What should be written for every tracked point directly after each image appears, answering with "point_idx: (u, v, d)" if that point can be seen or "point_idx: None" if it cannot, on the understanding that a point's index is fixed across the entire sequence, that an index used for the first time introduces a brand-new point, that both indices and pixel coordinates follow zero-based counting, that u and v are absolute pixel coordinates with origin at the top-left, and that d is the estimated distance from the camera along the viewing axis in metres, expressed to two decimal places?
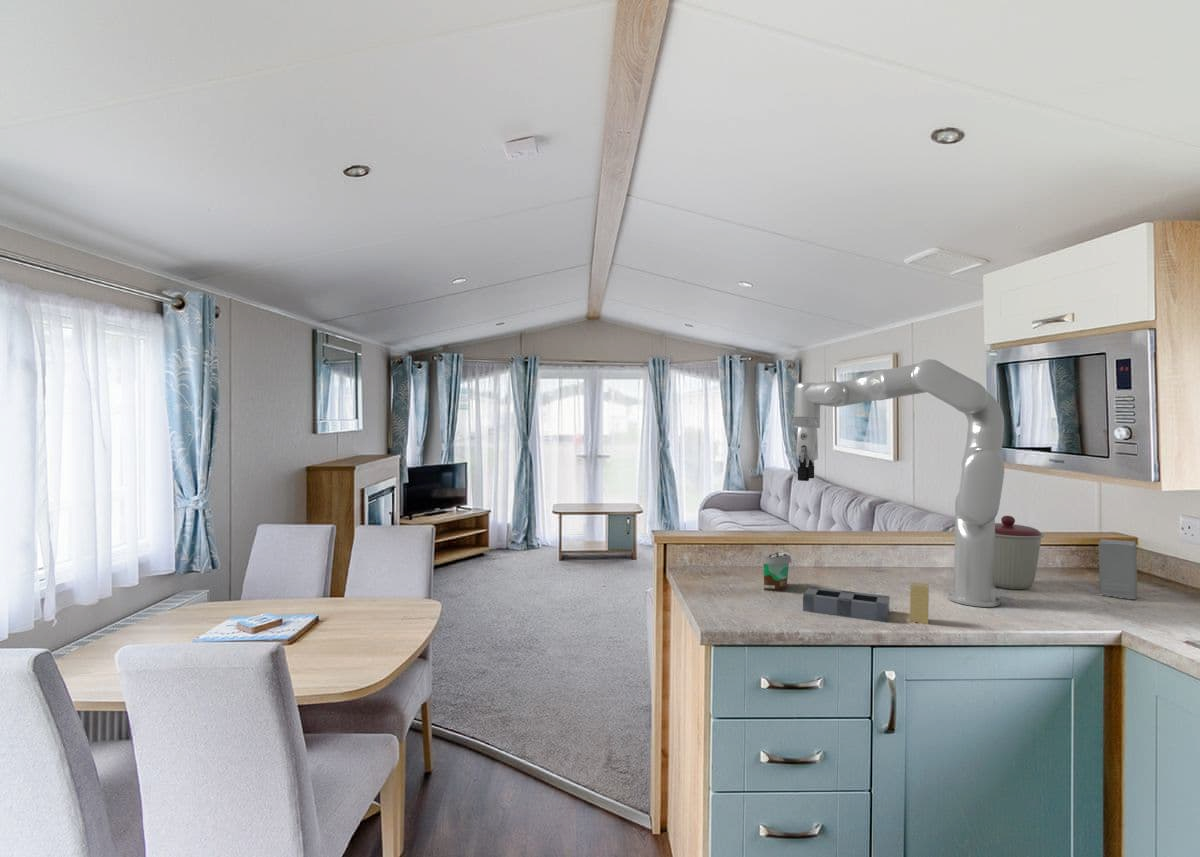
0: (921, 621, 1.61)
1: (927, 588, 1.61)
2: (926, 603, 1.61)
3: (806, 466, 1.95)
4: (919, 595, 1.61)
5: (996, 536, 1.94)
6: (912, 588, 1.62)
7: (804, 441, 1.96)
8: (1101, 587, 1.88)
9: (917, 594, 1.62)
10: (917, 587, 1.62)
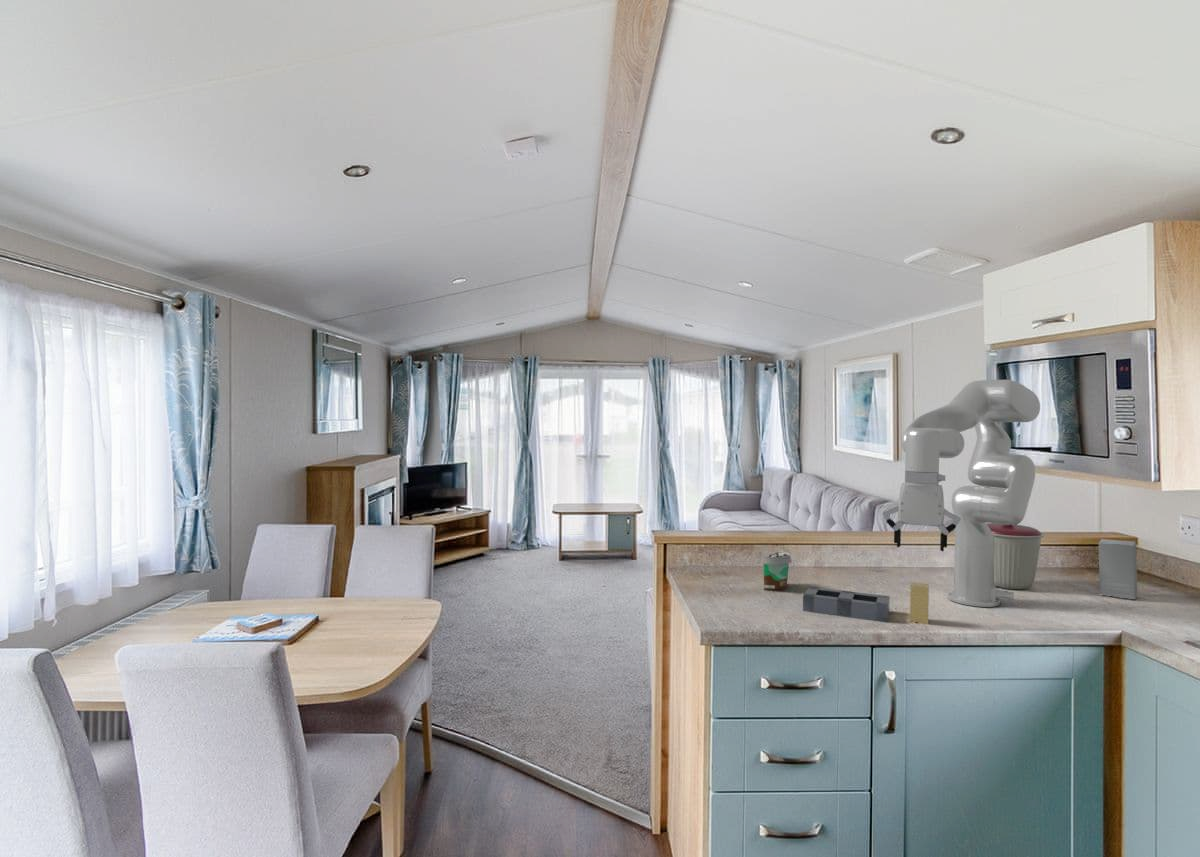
0: (921, 621, 1.61)
1: (927, 588, 1.61)
2: (926, 603, 1.61)
3: None
4: (919, 595, 1.61)
5: (996, 536, 1.94)
6: (912, 588, 1.62)
7: (943, 502, 1.61)
8: (1101, 587, 1.88)
9: (917, 594, 1.62)
10: (917, 587, 1.62)
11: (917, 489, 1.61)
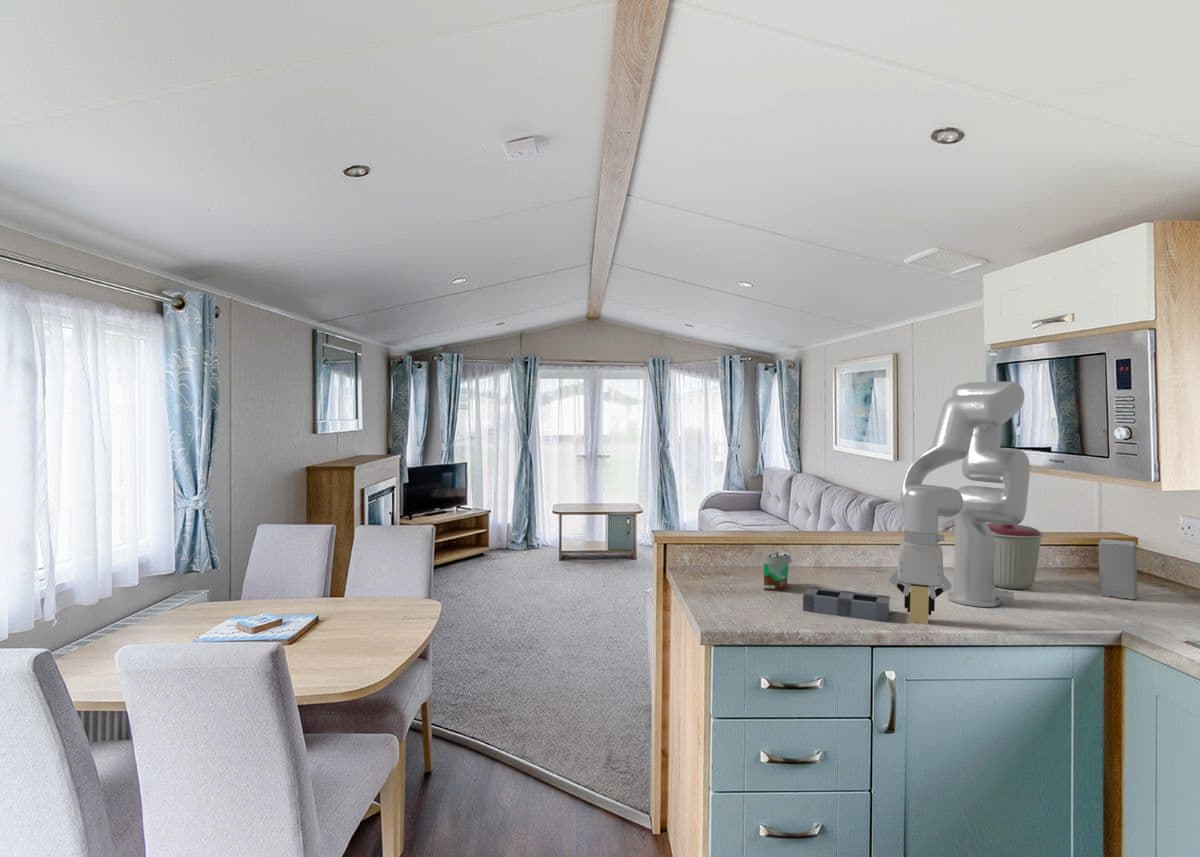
0: (921, 621, 1.61)
1: (927, 588, 1.61)
2: (926, 603, 1.61)
3: None
4: (919, 595, 1.61)
5: (996, 536, 1.94)
6: (912, 588, 1.62)
7: (942, 562, 1.61)
8: (1101, 587, 1.88)
9: (917, 594, 1.62)
10: (917, 587, 1.62)
11: (917, 550, 1.61)
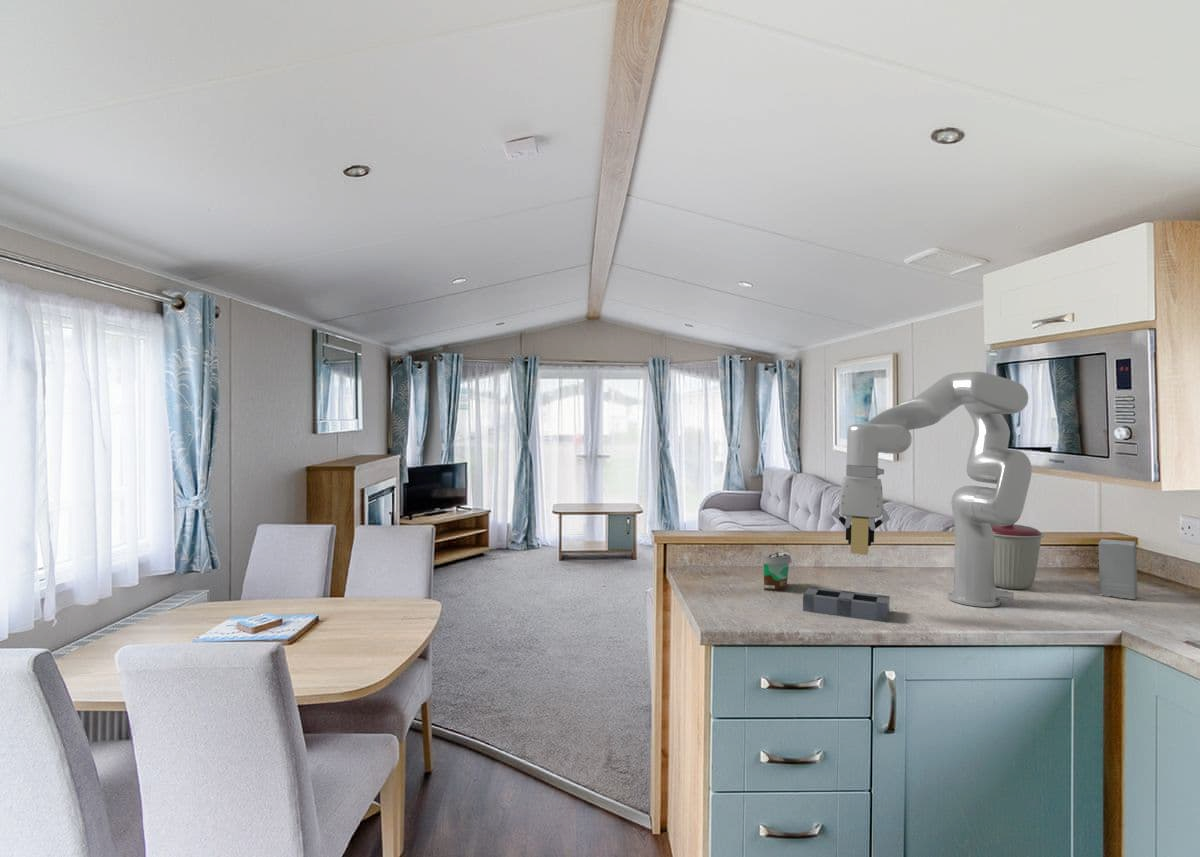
0: (861, 552, 1.67)
1: (867, 520, 1.66)
2: (866, 534, 1.66)
3: None
4: (859, 527, 1.67)
5: (996, 536, 1.94)
6: (853, 520, 1.68)
7: (882, 495, 1.67)
8: (1101, 587, 1.88)
9: (857, 526, 1.67)
10: (858, 519, 1.67)
11: (857, 483, 1.67)
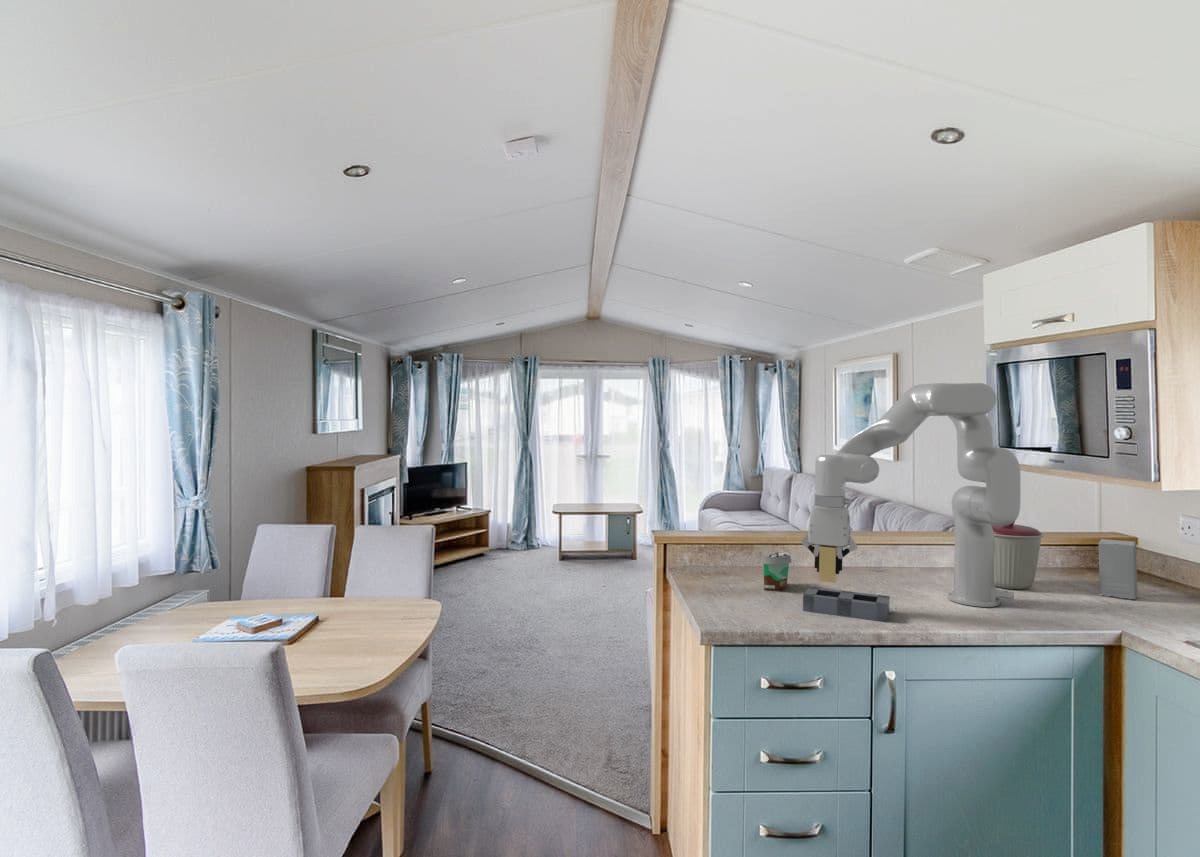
0: (829, 580, 1.71)
1: (834, 548, 1.70)
2: (833, 563, 1.70)
3: None
4: (827, 555, 1.71)
5: (996, 536, 1.94)
6: (821, 549, 1.72)
7: (849, 524, 1.70)
8: (1101, 587, 1.88)
9: (825, 554, 1.71)
10: (825, 548, 1.71)
11: (825, 512, 1.71)
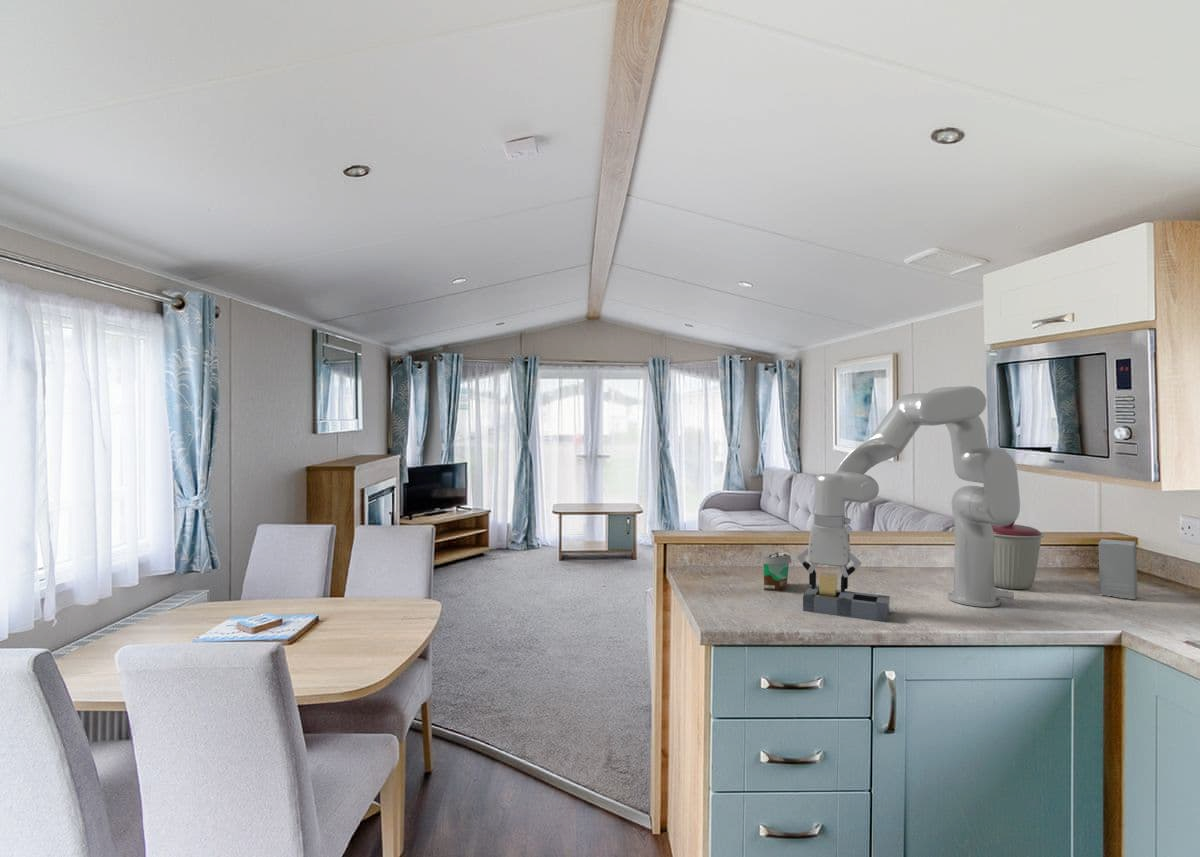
0: None
1: (834, 577, 1.70)
2: (833, 592, 1.70)
3: None
4: (827, 584, 1.71)
5: (996, 536, 1.94)
6: (821, 578, 1.72)
7: (849, 543, 1.71)
8: (1101, 587, 1.88)
9: (825, 583, 1.71)
10: (825, 577, 1.71)
11: (824, 532, 1.71)
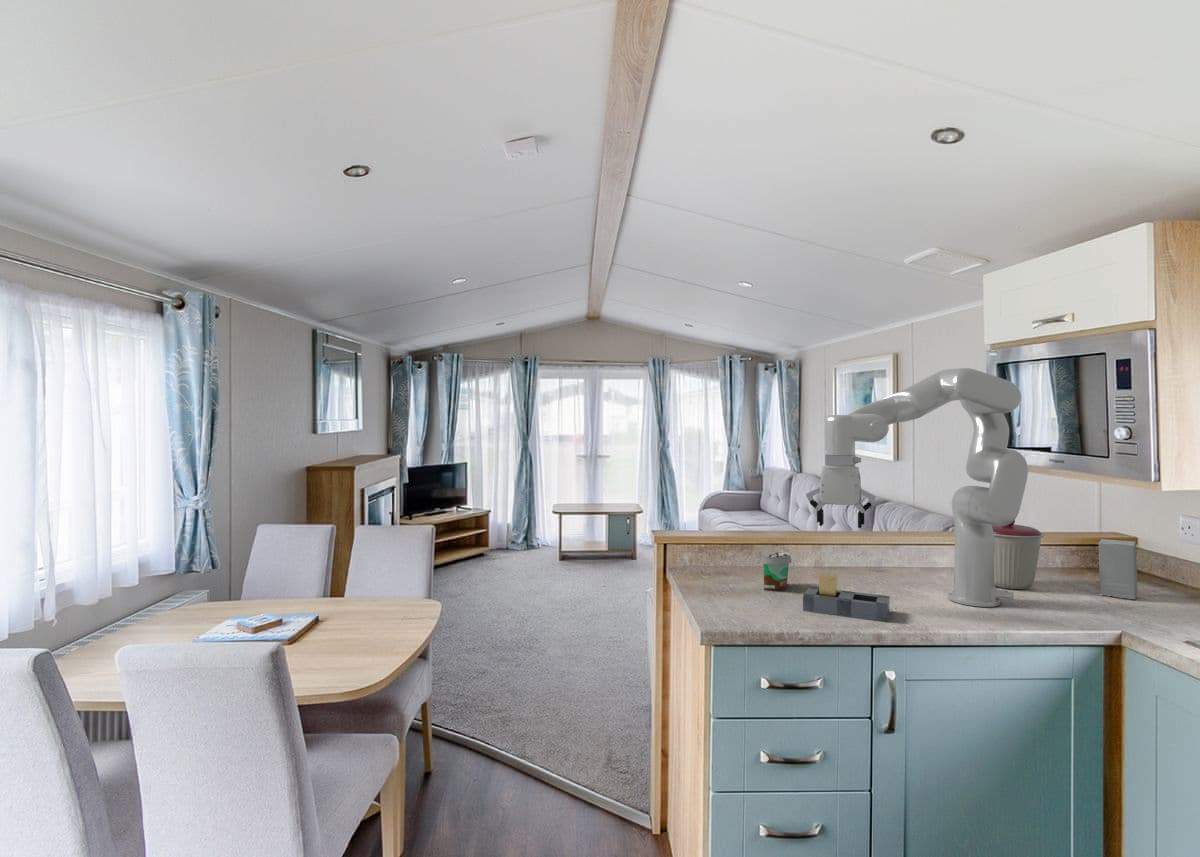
0: None
1: (834, 578, 1.70)
2: (833, 592, 1.70)
3: None
4: (827, 584, 1.71)
5: (996, 536, 1.94)
6: (821, 578, 1.72)
7: (860, 482, 1.73)
8: (1101, 587, 1.88)
9: (825, 583, 1.71)
10: (825, 577, 1.71)
11: (836, 472, 1.73)
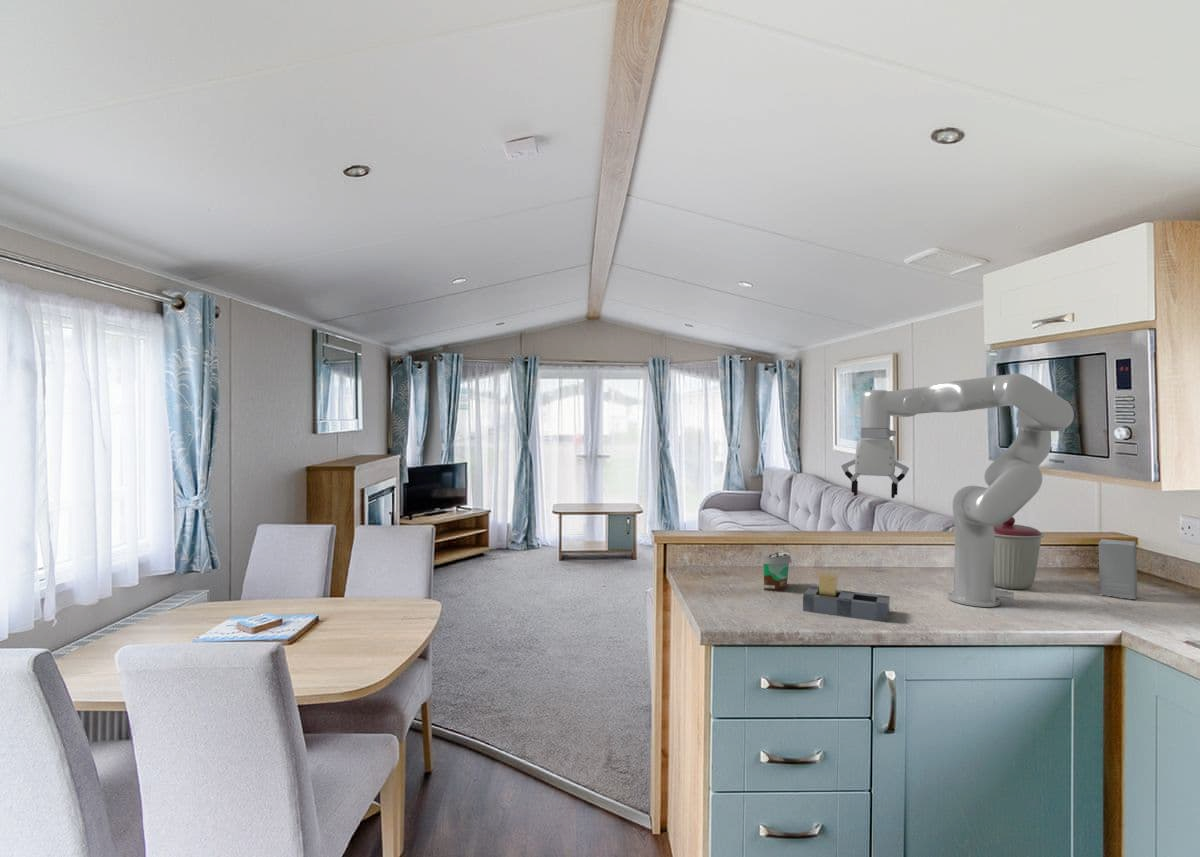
0: None
1: (834, 578, 1.70)
2: (833, 592, 1.70)
3: None
4: (827, 584, 1.71)
5: (996, 536, 1.94)
6: (821, 578, 1.72)
7: (894, 454, 1.81)
8: (1101, 587, 1.88)
9: (825, 583, 1.71)
10: (825, 577, 1.71)
11: (871, 444, 1.81)
